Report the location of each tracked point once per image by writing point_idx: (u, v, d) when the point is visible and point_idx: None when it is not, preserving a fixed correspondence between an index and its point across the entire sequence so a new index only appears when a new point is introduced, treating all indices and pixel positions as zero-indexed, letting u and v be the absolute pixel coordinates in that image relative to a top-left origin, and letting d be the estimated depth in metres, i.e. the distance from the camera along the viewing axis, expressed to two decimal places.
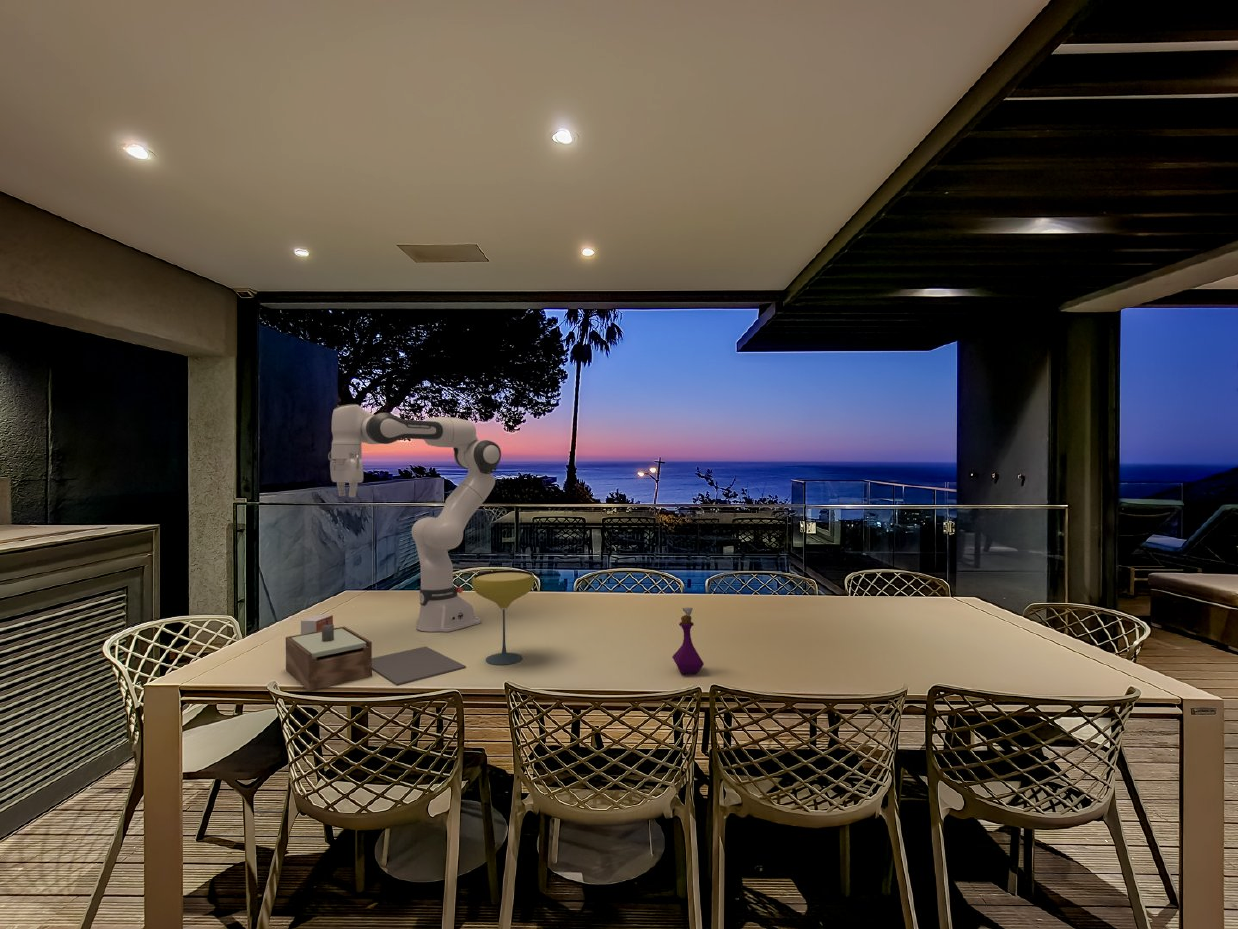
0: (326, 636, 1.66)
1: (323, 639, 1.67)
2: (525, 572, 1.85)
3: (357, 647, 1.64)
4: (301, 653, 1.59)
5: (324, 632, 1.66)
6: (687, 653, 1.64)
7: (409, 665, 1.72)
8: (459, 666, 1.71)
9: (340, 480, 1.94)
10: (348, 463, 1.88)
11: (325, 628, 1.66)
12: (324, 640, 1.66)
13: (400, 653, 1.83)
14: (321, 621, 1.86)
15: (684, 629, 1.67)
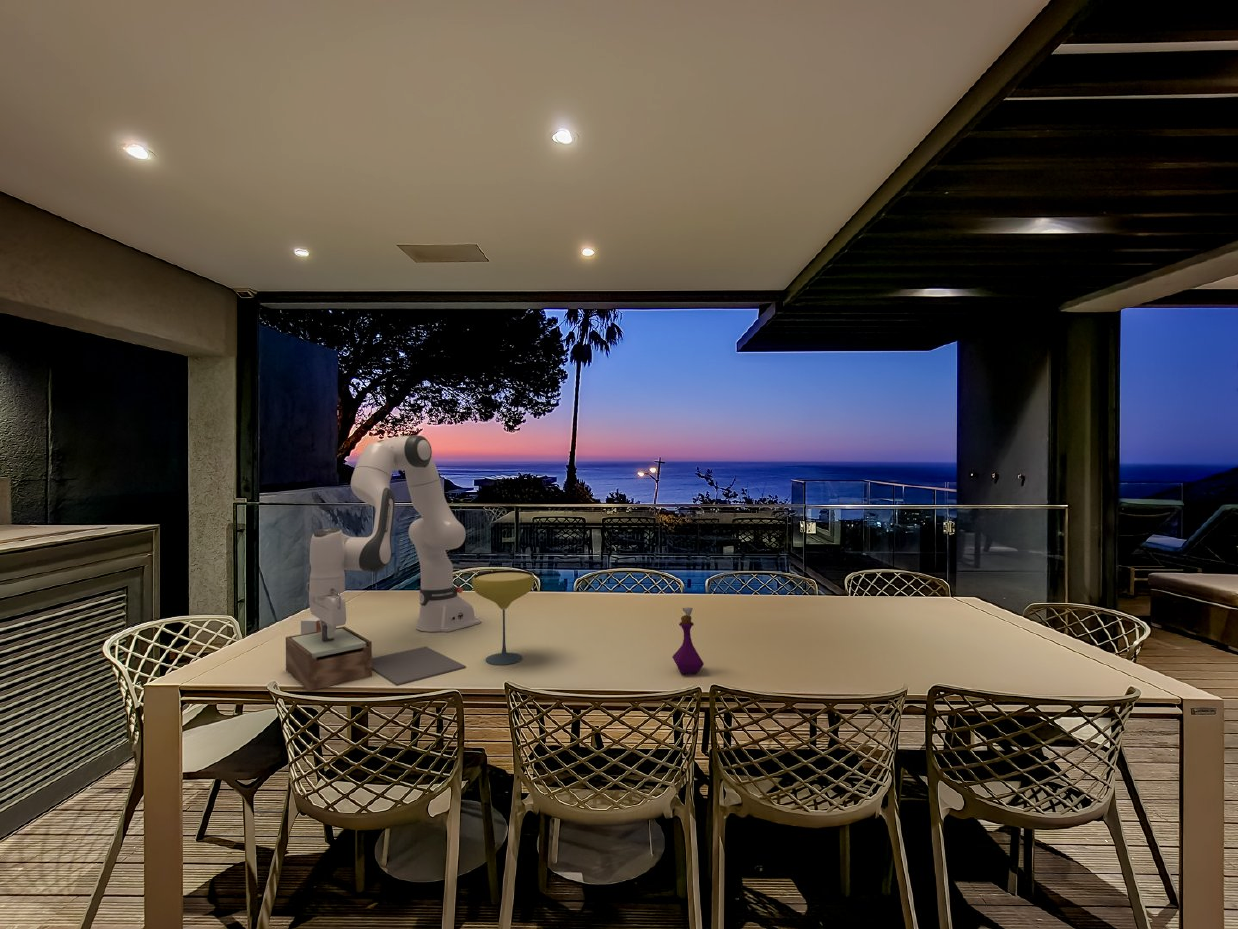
0: None
1: (323, 639, 1.67)
2: (525, 572, 1.85)
3: (357, 647, 1.64)
4: (301, 653, 1.59)
5: (324, 632, 1.66)
6: (687, 653, 1.64)
7: (409, 665, 1.72)
8: (459, 666, 1.71)
9: (319, 617, 1.67)
10: (328, 603, 1.62)
11: (325, 628, 1.66)
12: (324, 640, 1.66)
13: (400, 653, 1.83)
14: None
15: (684, 629, 1.67)
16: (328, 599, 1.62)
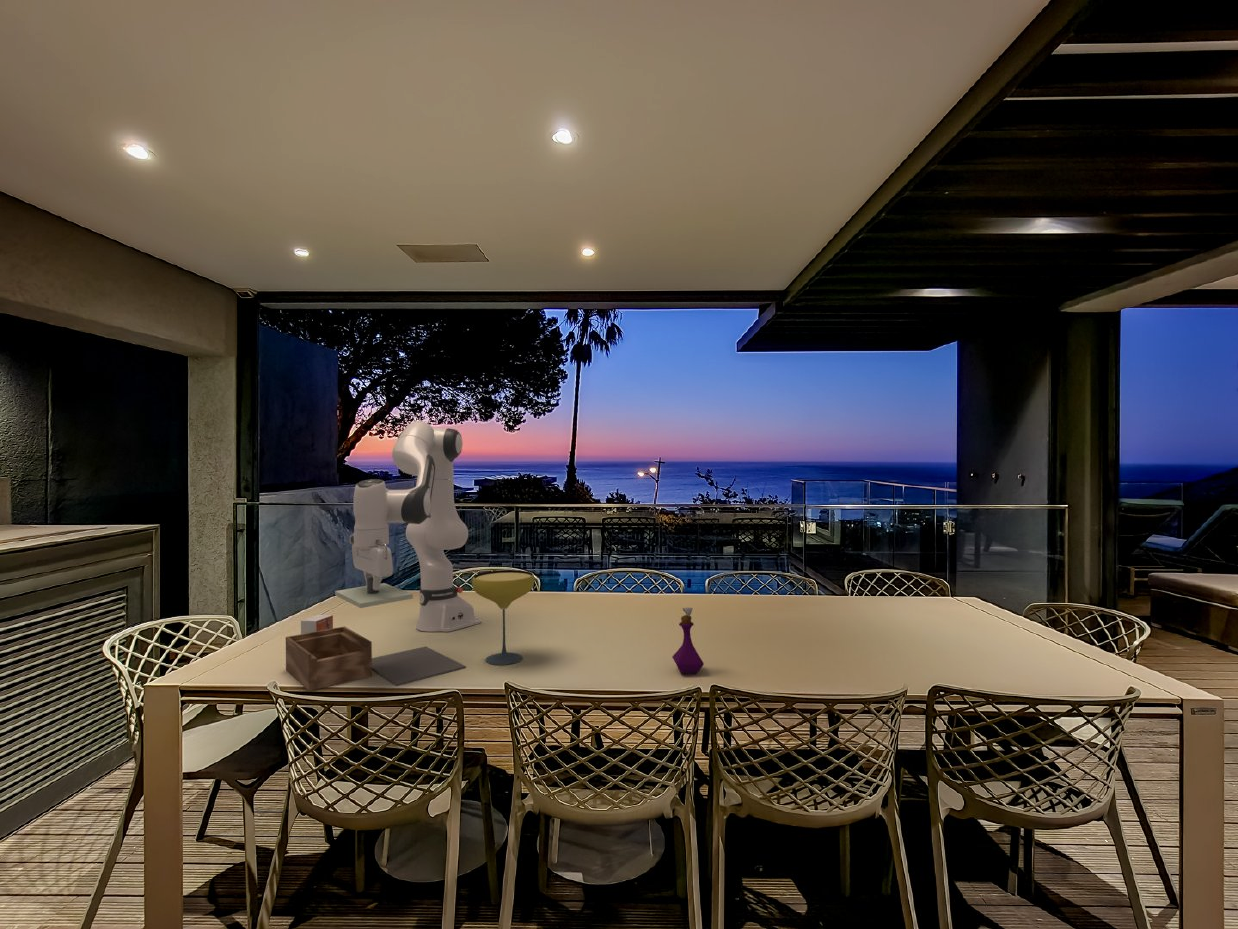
0: (371, 588, 1.64)
1: (368, 591, 1.64)
2: (525, 572, 1.85)
3: (404, 598, 1.61)
4: (301, 653, 1.59)
5: (369, 584, 1.64)
6: (687, 653, 1.64)
7: (409, 665, 1.72)
8: (459, 666, 1.71)
9: (364, 569, 1.65)
10: (374, 553, 1.59)
11: (370, 580, 1.64)
12: (370, 592, 1.64)
13: (400, 653, 1.83)
14: (321, 621, 1.86)
15: (684, 629, 1.67)
16: (374, 550, 1.59)
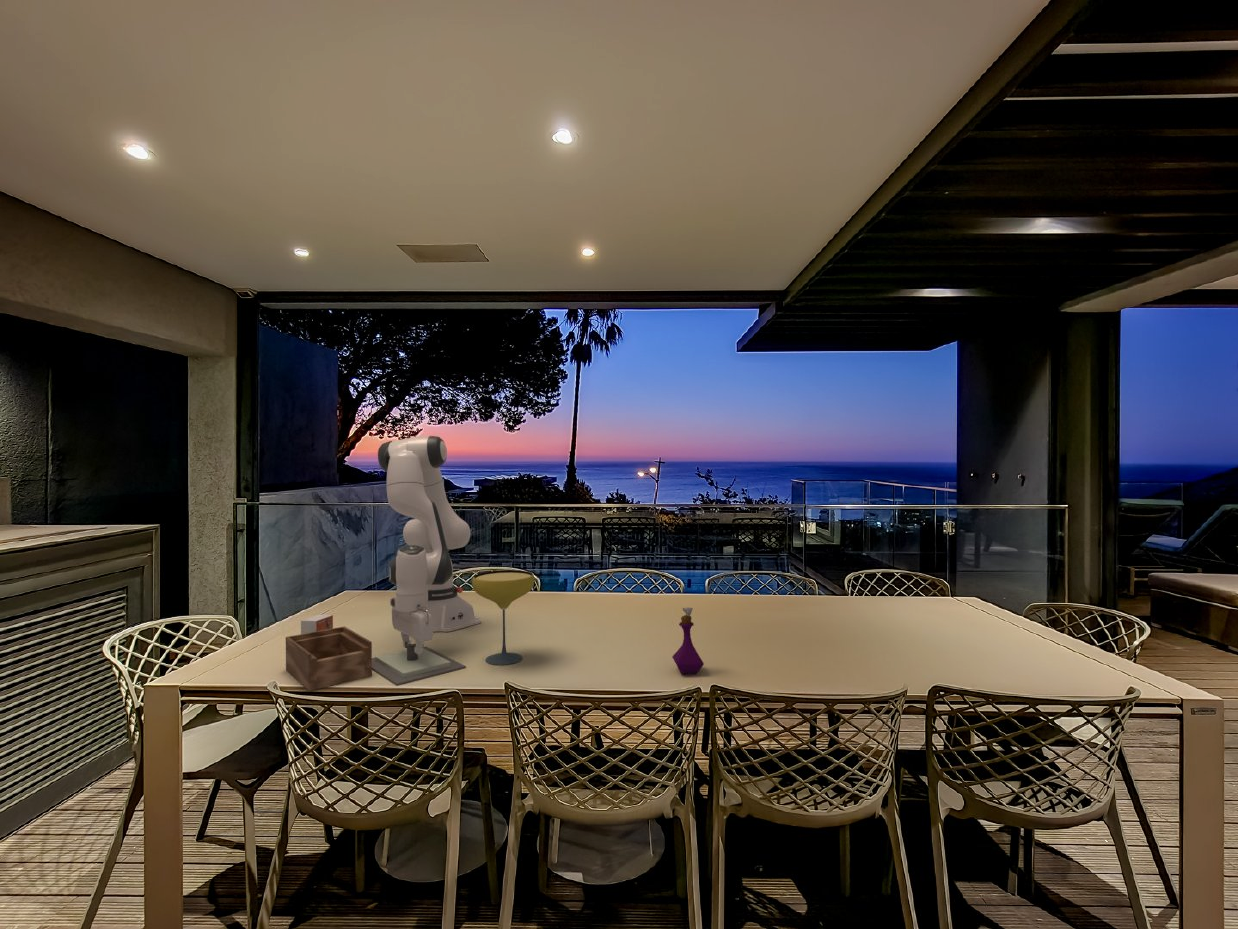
0: (411, 655, 1.73)
1: (408, 658, 1.73)
2: (525, 572, 1.85)
3: (443, 666, 1.70)
4: (301, 653, 1.59)
5: (409, 651, 1.73)
6: (687, 653, 1.64)
7: None
8: (459, 666, 1.71)
9: (404, 632, 1.74)
10: (416, 618, 1.68)
11: (410, 648, 1.73)
12: (409, 659, 1.73)
13: None
14: (321, 621, 1.86)
15: (684, 629, 1.67)
16: (416, 615, 1.68)
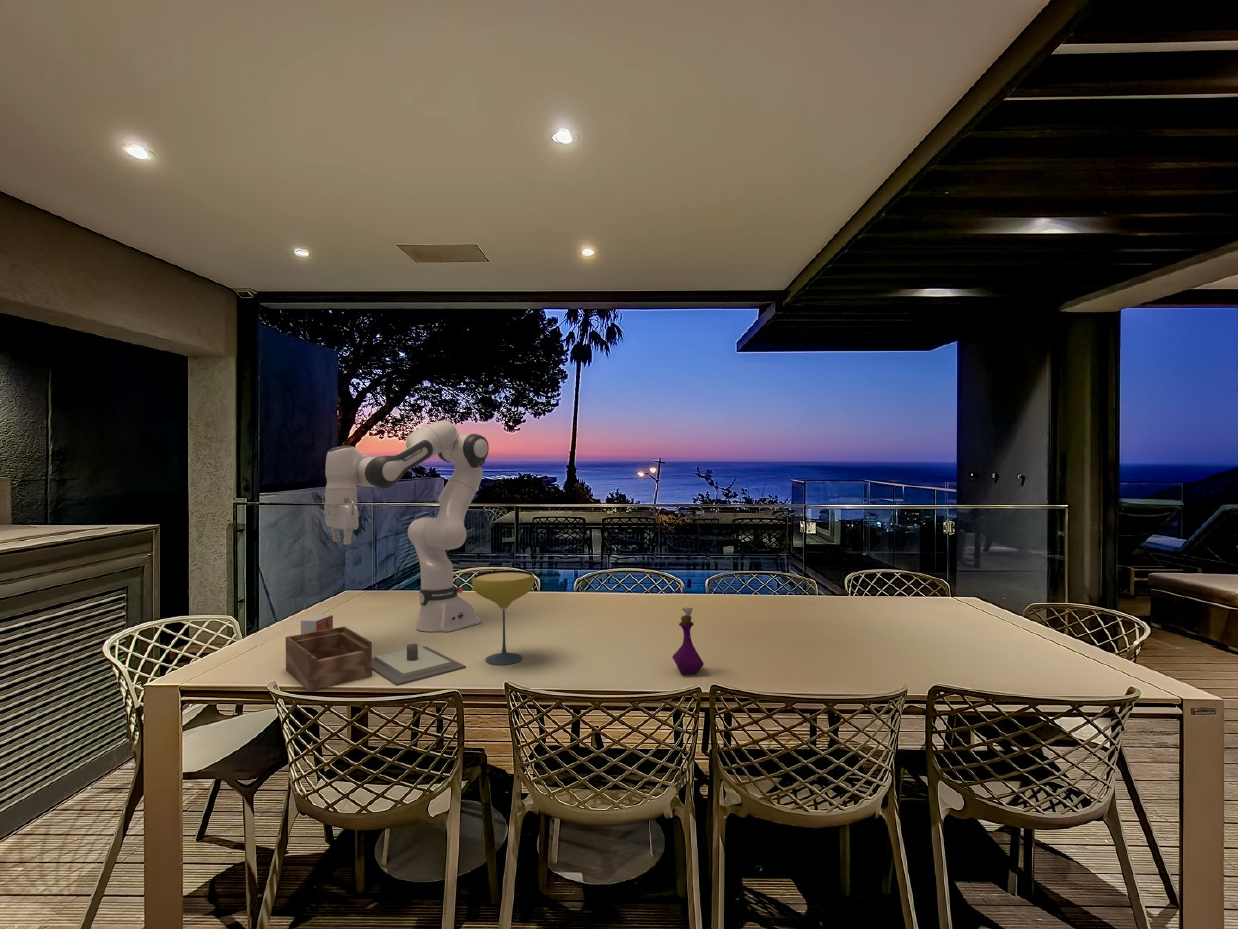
0: (411, 655, 1.73)
1: (408, 658, 1.73)
2: (525, 572, 1.85)
3: (443, 666, 1.70)
4: (301, 653, 1.59)
5: (409, 651, 1.73)
6: (687, 653, 1.64)
7: None
8: (459, 666, 1.71)
9: (334, 525, 1.85)
10: (343, 509, 1.79)
11: (410, 648, 1.73)
12: (409, 659, 1.73)
13: None
14: (321, 621, 1.86)
15: (684, 629, 1.67)
16: (342, 506, 1.80)
